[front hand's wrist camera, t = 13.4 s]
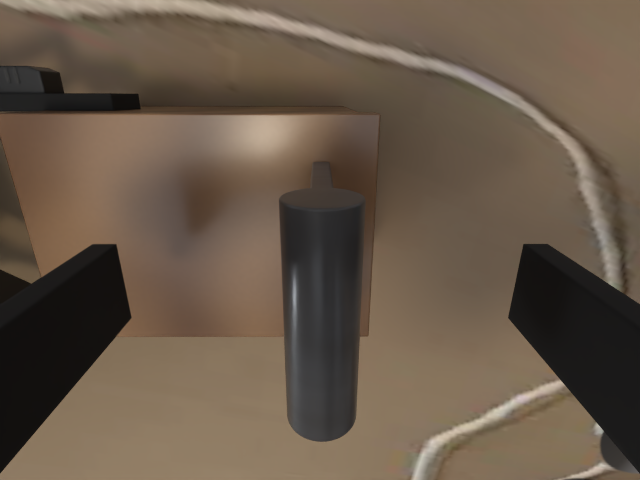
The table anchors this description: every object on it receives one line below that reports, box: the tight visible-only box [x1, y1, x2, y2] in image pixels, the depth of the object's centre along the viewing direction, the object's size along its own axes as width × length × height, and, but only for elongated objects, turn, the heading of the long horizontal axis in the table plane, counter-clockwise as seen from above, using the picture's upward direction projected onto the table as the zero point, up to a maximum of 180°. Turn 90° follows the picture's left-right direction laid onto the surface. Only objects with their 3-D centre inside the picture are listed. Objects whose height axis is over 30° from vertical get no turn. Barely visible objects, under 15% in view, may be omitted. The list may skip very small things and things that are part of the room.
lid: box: [0, 112, 380, 442], centre depth 13 cm, size 15×10×9 cm
